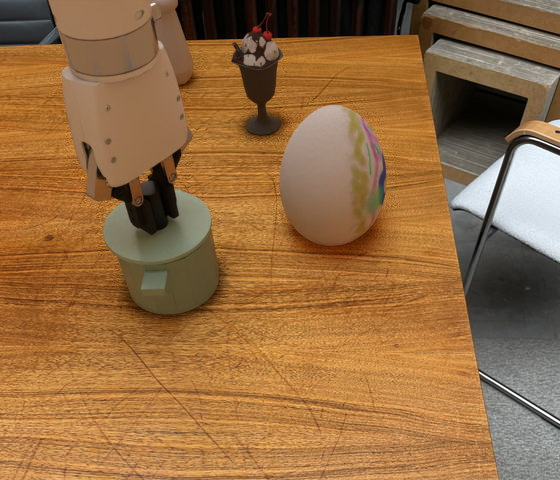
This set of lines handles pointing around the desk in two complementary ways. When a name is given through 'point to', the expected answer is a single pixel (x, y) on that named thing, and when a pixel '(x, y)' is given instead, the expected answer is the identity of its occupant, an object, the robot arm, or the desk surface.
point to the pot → (174, 281)
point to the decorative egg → (333, 176)
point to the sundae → (259, 75)
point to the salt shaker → (174, 40)
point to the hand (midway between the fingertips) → (155, 219)
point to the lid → (158, 229)
